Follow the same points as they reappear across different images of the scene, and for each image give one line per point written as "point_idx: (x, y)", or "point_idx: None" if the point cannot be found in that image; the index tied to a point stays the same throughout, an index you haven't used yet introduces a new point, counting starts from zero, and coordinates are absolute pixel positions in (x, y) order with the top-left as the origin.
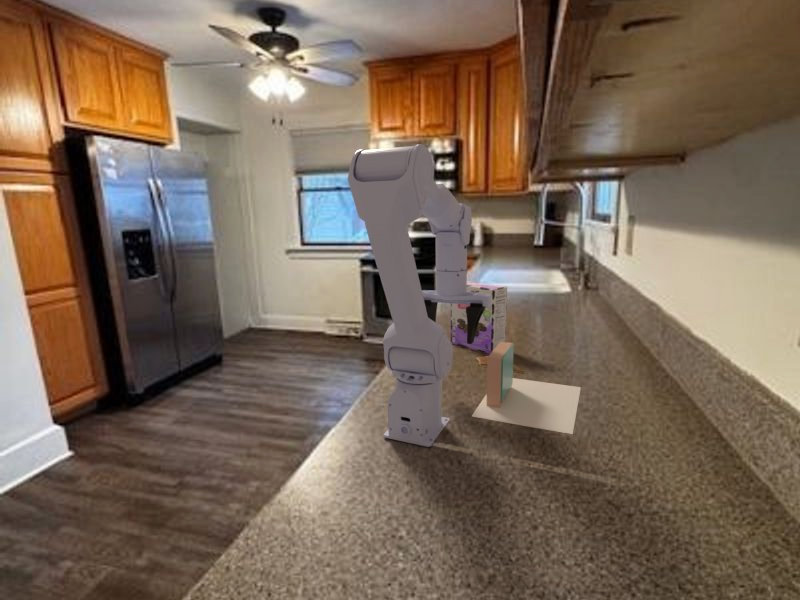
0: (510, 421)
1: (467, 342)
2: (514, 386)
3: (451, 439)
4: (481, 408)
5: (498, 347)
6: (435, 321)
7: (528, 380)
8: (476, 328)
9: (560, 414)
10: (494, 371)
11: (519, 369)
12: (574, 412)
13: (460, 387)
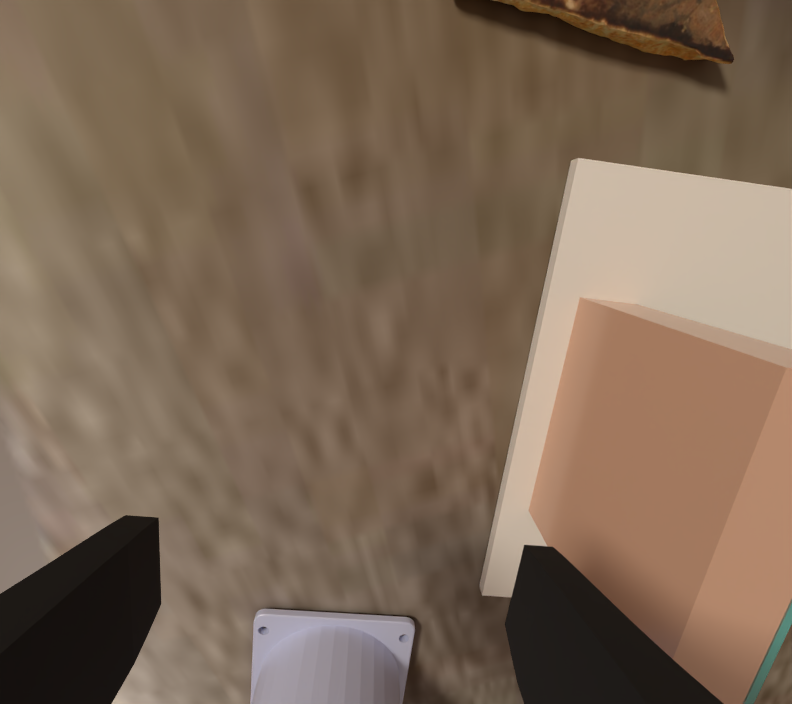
0: None
1: (510, 637)
2: (651, 290)
3: (437, 694)
4: (511, 536)
5: (745, 529)
6: (8, 655)
7: (733, 185)
8: (657, 648)
9: None
10: None
11: (714, 16)
12: None
13: (393, 328)
